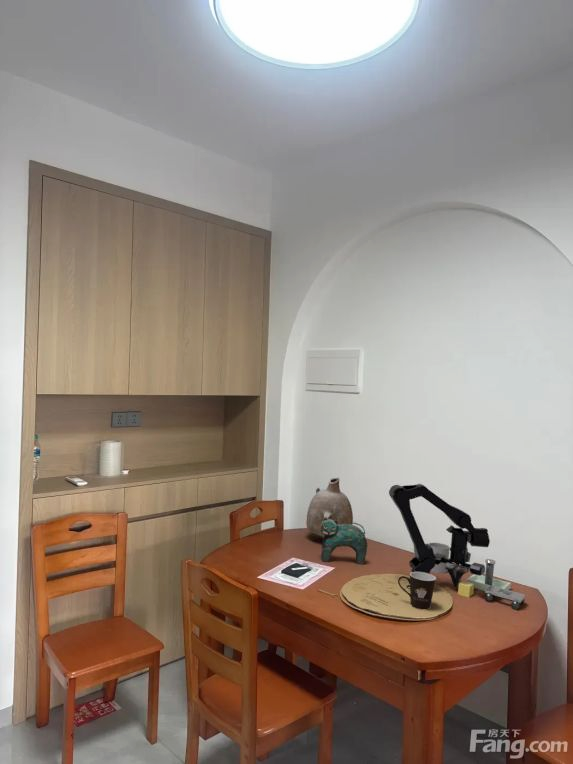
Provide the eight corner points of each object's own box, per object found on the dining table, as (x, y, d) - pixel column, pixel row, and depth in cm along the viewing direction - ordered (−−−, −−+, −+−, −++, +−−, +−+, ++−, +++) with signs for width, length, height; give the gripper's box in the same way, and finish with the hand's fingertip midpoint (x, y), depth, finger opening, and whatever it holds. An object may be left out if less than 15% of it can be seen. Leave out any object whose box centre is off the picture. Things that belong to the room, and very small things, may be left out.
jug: (300, 532, 266) (305, 471, 266) (342, 534, 270) (347, 474, 270) (311, 548, 242) (317, 480, 242) (357, 549, 246) (363, 483, 246)
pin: (492, 588, 207) (494, 563, 207) (482, 586, 209) (484, 560, 209) (494, 586, 210) (496, 560, 210) (484, 583, 212) (486, 558, 212)
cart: (525, 603, 196) (526, 593, 196) (519, 610, 188) (519, 600, 188) (490, 593, 203) (491, 584, 203) (483, 600, 195) (484, 590, 195)
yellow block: (468, 597, 197) (469, 586, 197) (457, 594, 200) (458, 583, 200) (473, 594, 201) (474, 583, 201) (462, 591, 204) (463, 580, 204)
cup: (439, 566, 232) (441, 542, 232) (451, 572, 224) (453, 548, 225) (422, 566, 229) (424, 542, 229) (434, 573, 221) (436, 548, 222)
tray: (502, 596, 202) (503, 589, 202) (465, 585, 209) (466, 579, 210) (510, 589, 210) (510, 582, 210) (474, 579, 218) (474, 573, 218)
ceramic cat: (318, 562, 222) (322, 513, 223) (316, 557, 229) (320, 509, 229) (366, 566, 223) (370, 517, 223) (363, 561, 230) (367, 513, 230)
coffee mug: (437, 607, 185) (440, 577, 185) (425, 613, 179) (428, 582, 179) (407, 596, 193) (409, 567, 193) (394, 601, 186) (397, 572, 187)
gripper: (490, 546, 204) (487, 588, 204) (441, 535, 215) (438, 575, 215) (482, 552, 195) (478, 596, 195) (431, 540, 206) (428, 582, 206)
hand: (455, 587), depth 203 cm, fingers closed
